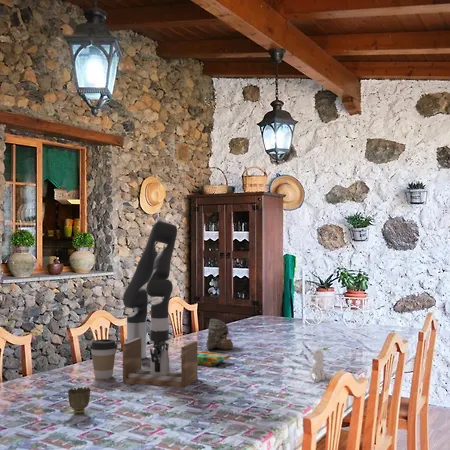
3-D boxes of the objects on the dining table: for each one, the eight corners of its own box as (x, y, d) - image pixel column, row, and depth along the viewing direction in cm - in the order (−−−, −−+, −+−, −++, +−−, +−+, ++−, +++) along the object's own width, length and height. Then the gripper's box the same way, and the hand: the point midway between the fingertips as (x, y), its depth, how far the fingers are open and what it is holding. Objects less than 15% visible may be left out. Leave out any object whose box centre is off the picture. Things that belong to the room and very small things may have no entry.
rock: (201, 314, 320) (229, 310, 317) (210, 331, 329) (236, 327, 326) (198, 342, 307) (227, 338, 303) (207, 359, 316) (235, 355, 312)
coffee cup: (122, 375, 258) (122, 339, 258) (108, 381, 247) (108, 344, 247) (98, 373, 262) (98, 338, 262) (84, 379, 251) (84, 342, 251)
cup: (69, 410, 208) (69, 386, 208) (91, 409, 209) (91, 386, 209) (66, 417, 201) (66, 392, 201) (88, 416, 201) (88, 392, 201)
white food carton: (165, 376, 245) (165, 351, 245) (150, 375, 247) (150, 350, 247) (169, 374, 249) (169, 349, 249) (154, 373, 251) (154, 348, 251)
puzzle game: (195, 348, 293) (230, 353, 282) (195, 358, 293) (230, 363, 282) (180, 352, 283) (216, 357, 272) (180, 363, 283) (216, 368, 272)
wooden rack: (122, 382, 246) (122, 343, 246) (138, 374, 260) (138, 337, 260) (184, 387, 238) (184, 347, 238) (197, 378, 251) (197, 341, 251)
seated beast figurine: (315, 382, 245) (315, 353, 245) (302, 378, 253) (302, 349, 253) (334, 380, 249) (333, 350, 249) (321, 375, 257) (321, 347, 257)
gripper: (158, 325, 256) (158, 366, 256) (143, 330, 242) (143, 374, 242) (174, 326, 254) (174, 367, 254) (161, 331, 240) (161, 375, 240)
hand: (159, 370), depth 248 cm, fingers closed on white food carton, 3 cm apart
